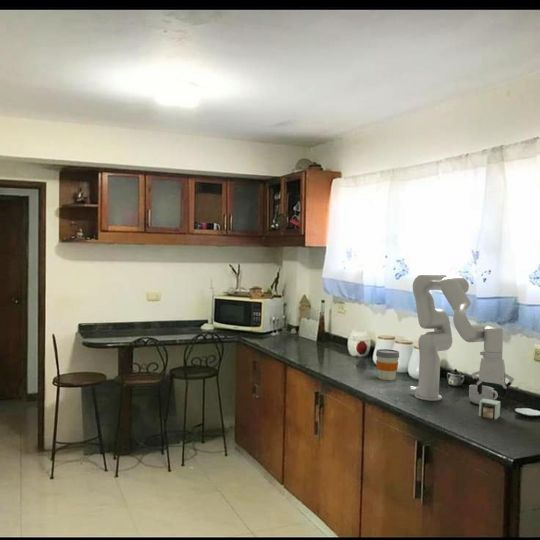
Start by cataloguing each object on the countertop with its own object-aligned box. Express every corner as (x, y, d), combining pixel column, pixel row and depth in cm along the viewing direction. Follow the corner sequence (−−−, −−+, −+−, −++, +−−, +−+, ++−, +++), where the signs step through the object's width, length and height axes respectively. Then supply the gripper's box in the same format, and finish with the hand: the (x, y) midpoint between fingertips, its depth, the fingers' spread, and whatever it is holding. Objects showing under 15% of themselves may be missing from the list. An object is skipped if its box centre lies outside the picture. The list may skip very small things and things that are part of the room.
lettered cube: (482, 416, 246) (483, 407, 246) (485, 414, 249) (485, 405, 249) (492, 418, 244) (493, 409, 244) (494, 416, 247) (495, 407, 247)
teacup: (463, 401, 271) (464, 384, 271) (481, 399, 275) (482, 383, 275) (484, 409, 258) (485, 391, 258) (503, 407, 262) (504, 390, 262)
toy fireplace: (478, 416, 246) (479, 401, 246) (482, 412, 252) (483, 398, 252) (496, 419, 242) (497, 404, 242) (499, 416, 248) (500, 401, 248)
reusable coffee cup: (394, 381, 307) (395, 354, 306) (371, 378, 313) (372, 351, 312) (401, 377, 318) (402, 351, 317) (379, 374, 324) (380, 348, 323)
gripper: (469, 354, 248) (468, 394, 248) (512, 358, 238) (511, 400, 238) (474, 352, 254) (473, 391, 254) (516, 356, 244) (515, 396, 245)
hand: (491, 395), depth 246 cm, fingers open, 9 cm apart
